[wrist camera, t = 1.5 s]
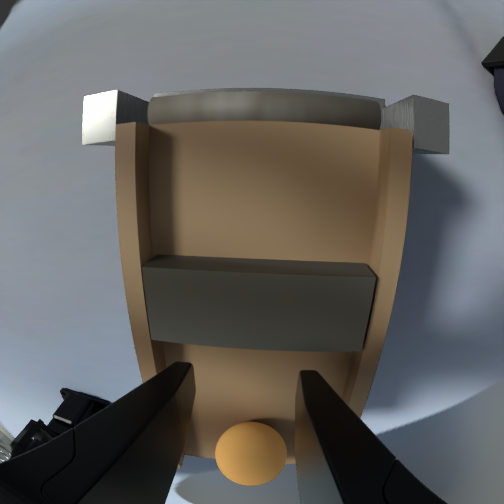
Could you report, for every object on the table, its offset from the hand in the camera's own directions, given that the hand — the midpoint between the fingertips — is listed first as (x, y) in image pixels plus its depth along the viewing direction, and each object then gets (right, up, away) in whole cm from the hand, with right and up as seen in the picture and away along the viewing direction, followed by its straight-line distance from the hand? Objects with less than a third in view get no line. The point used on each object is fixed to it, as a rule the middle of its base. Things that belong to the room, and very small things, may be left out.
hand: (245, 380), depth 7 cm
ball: (0, -7, +5) cm, 9 cm away
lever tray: (0, 0, +6) cm, 6 cm away
